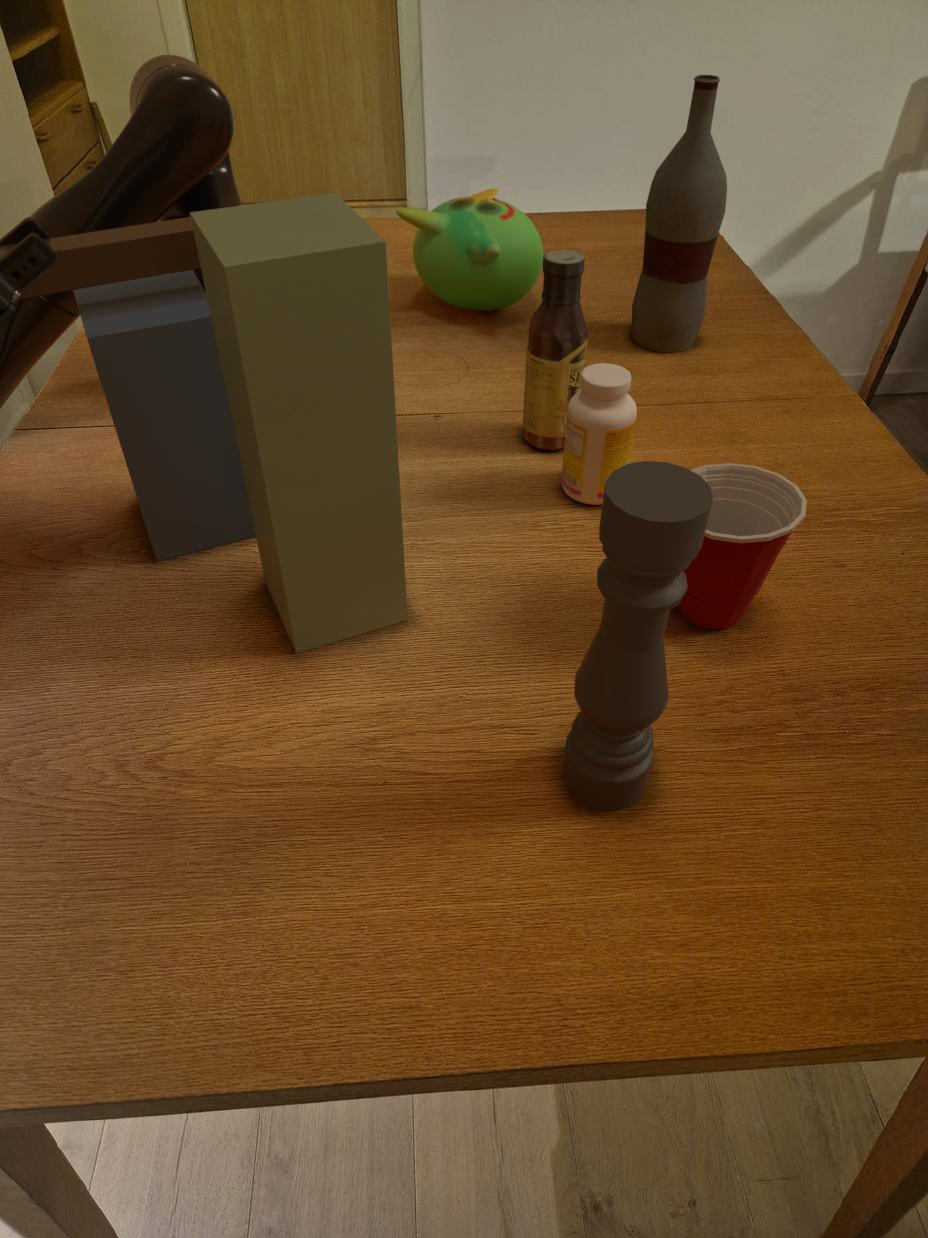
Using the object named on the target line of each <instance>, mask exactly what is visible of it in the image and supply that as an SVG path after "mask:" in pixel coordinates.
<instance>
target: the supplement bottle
mask: <svg viewBox="0 0 928 1238" xmlns="http://www.w3.org/2000/svg"><path fill="white" fill-rule="evenodd" d="M631 384H632V375H631V372H630V371H629V370H628V369H627V368H625V367H623V366H622V365H618V364H614V363H607V362H601V363H599V362H598V363H594V364H590V365H588V366H587V365H586V366H585V368H584V369H583V371H582V373H581V380H580V387H581V390H580V391H579V392H577V393H576V394H575V395H574V396H573V397H572V398H571V400H570V402H569V404H568V411H567V422H566V433H565V444H564V448H563V457H562V467H561V468H562V470H561V487H562V489H563V491H564V493H565V495H567V496H568V497H569V498H571V499H572V500H574V501H576V502H579V503H582V504H587V505H593V506H594V505H595V506H597V505H598V506H602V504H603V497H604V489H605V482H606V480H607V479H608V477H609V476H610V475H611V473H612V472H613V471H614V470H616V469H618V468H620V467H622V466H624V465H626V464H630V463H631V457H632V450H633V444H634V443H633V442H634V436H635V429H636V421H637V413H638V407H637V404H636V401H635V400H634V398H633V397H632V396H631V395H629V394H628V393H629V391H630V390H631Z"/></svg>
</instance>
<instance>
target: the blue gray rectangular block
mask: <svg viewBox="0 0 928 1238" xmlns="http://www.w3.org/2000/svg"><path fill="white" fill-rule="evenodd" d="M73 292H74V295H75V299H76V302H77V306H78V309H79V312H80V316H79V317H80V319H81V323H82V326H83V329H84V333H85V336H86V340H87V342H88V346H89V350H90V352H91V357H92V358H93V361H94V366H95V368H96V371H97V374H98V377H99V381H100V384H101V387H102V391H103V394H104V397H105V400H106V404H107V407H108V410H109V413H110V416H111V420H112V422H113V423H112V424H113V425H114V426H113V427H114V430H115V432H116V435H117V439H118V442H119V446H120V448H121V451H122V453H123V454H122V455H123V459H124V462H125V464H126V468H127V470H128V474H129V477H130V481H131V483H132V487H133V490H134V493H135V496H136V499H137V503H138V505H139V509H140V512H141V515H142V519H143V522H144V526H145V528H146V532H147V534H148V537H149V542H150V544H151V547H152V550H153V553H154V557H155V560H156V562H160V561H164V560H169V559H172V558H177V557H180V556H185V555H188V554H191V553H192V554H193V553H196V552H199V551H200V552H201V551H204V550H208V549H213V548H216V547H219V546H220V547H221V546H223V545H227V544H232V543H235V542H239V541H242V540H243V541H244V540H247V539H251V538H256V534H255V529H254V524H253V519H252V514H251V509H250V504H249V500H248V495H247V490H246V485H245V480H244V475H243V470H242V466H241V461H240V456H239V451H238V446H237V441H236V436H235V431H234V427H233V422H232V417H231V412H230V407H229V402H228V397H227V393H226V388H225V383H224V378H223V373H222V368H221V363H220V358H219V354H218V349H217V344H216V339H215V334H214V329H213V324H212V320H211V315H210V310H209V305H208V300H207V295H206V292H205V291H204V289H203V287H202V285H201V284H200V282H199V280H198V278H197V276H196V275H195V273H194V271H193V270H189V271H183V272H176V273H169V274H163V275H158V276H152V277H146V278H140V279H135V280H129V281H123V282H117V283H111V284H106V285H100V286H94V287H88V288H82V289H77V290H73Z"/></svg>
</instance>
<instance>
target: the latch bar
mask: <svg viewBox="0 0 928 1238" xmlns="http://www.w3.org/2000/svg"><path fill="white" fill-rule="evenodd" d="M44 241H45V242H46V243H47V244H48V245H49V246H50V247H51V248H52V249H53V250H54V252H55V256H56V259H55V261H54V262H53V263H52V264H51V265H50V266H49V267H47V268H46V269H45V270H44V271H43V272H41V273H40V274H39V275H38V276H37V277H35V278H34V279H33V280H32V281H31V282H30V283H28V284H27V285H26V286H25V287H24V288H22V289H20V288H18V289H19V290H20V291H21V295H20V297H19V299H25V298H30V297H36V296H42V295H48V294H53V293H59V292H65V291H71V290H77V289H82V288H88V287H94V286H100V285H106V284H111V283H117V282H123V281H129V280H135V279H140V278H146V277H152V276H158V275H164V274H170V273H175V272H181V271H187V270H192V269H198V268H201V266H200V261H199V256H198V251H197V247H196V242H195V237H194V232H193V227H192V222H191V217H186V218H180V219H173V220H167V221H160V222H158V221H157V222H154V223H147V224H141V225H134V226H128V227H122V228H115V229H109V230H102V231H96V232H89V233H83V234H76V235H70V236H63V237H57V238H51V239H44ZM16 245H17V244H12V245H5V246H0V258H1V257H3V256H4V255H5V254H6V253H7V252H9V251H10V250H11V249H12V248H13V247H14V246H16ZM19 299H18V300H19Z"/></svg>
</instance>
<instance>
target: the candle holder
mask: <svg viewBox="0 0 928 1238" xmlns="http://www.w3.org/2000/svg"><path fill="white" fill-rule="evenodd" d="M691 470H692V469H689V468H687V467H685V466H681V465H678V464H674V463H671V462H667V461H657V460H656V461H654V460H643V461H636V462H630V464H626V465H624V466H622V467H620V468H618V469H616V470H614V471H613V472H612V473H611V475H610V476H609V477H608V479H607V480H606V482H605V489H604V497H603V504H602V505H601V510H600V511H601V513H600V517H599V518H600V519H599V527H598V538H599V541H600V544H601V545H602V552H603V554H604V556H605V558H604V559H603V560H602V561H601V563H600V564H599V566H598V568H597V569H596V586H597V588H598V590H599V592H600V594H601V595H602V597H603V599H604V602H603V608H602V614H601V621H600V625H599V626H598V629H597V631H596V633H595V635H594V637H593V639H592V641H591V642H590V645H589V646H588V649H587V651H586V653H585V655H584V657H583V659H582V661H581V662H580V665H579V667H578V669H577V671H576V673H575V674H574V675H575V676H574V686H573V687H574V688H573V689H574V690H573V691H574V693H573V696H574V699H575V702H576V704H577V706H578V708H579V710H580V711H579V712H578V713H577V714H576V716H575V717H574V720H573V721H572V723H571V728H570V730H569V732H568V733H567V735H566V738H565V747H564V752H563V753H564V754H563V755H564V756H563V761H562V776H561V777H562V780H563V782H564V785H565V788H566V789H567V791H568V792H569V794H570V795H571V796H573V797H574V798H575V799H576V800H577V801H578V802H579V803H580V804H582V805H585V806H587V807H589V808H592V809H594V810H598V811H607V812H616V811H620V810H624V809H628V808H631V806H633V805H634V804H635V803H637V802H638V801H640V800H641V799H642V797H643V795H644V793H645V791H646V789H647V788H648V783H649V779H650V776H651V772H652V768H653V763H654V759H655V753H654V744H655V743H654V730H653V728H652V726H651V725H652V724H654V723H655V722H656V721H658V720H659V719H660V718H661V716H662V714H663V713H664V710H665V708H666V707H667V704H668V700H669V697H670V696H669V684H668V683H669V682H668V673H667V663H666V662H667V661H666V650H665V649H666V648H665V638H664V637H665V634H666V633H665V632H666V628H667V624H668V620H669V615H670V611H671V610H672V609H673V608H675V607H676V606H677V605H678V604H679V603H680V602H681V600H682V598H683V596H684V594H685V593H686V591H687V578H686V575H685V573H684V572H683V570H685V569H687V568H688V566H689V565H690V563H691V561H692V560H693V559H695V558H696V556H697V554H698V552H699V551H700V549H701V547H702V543H703V539H704V535H705V531H706V527H707V523H708V519H709V514H710V510H711V506H712V502H713V497H712V491H711V487H710V486H709V485H708V484H707V483H706V481H705V480H704V479H703V478H702V477H701V476H699V475H698V474H696V473H694V472H692V471H691ZM677 607H678V606H677Z"/></svg>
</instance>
